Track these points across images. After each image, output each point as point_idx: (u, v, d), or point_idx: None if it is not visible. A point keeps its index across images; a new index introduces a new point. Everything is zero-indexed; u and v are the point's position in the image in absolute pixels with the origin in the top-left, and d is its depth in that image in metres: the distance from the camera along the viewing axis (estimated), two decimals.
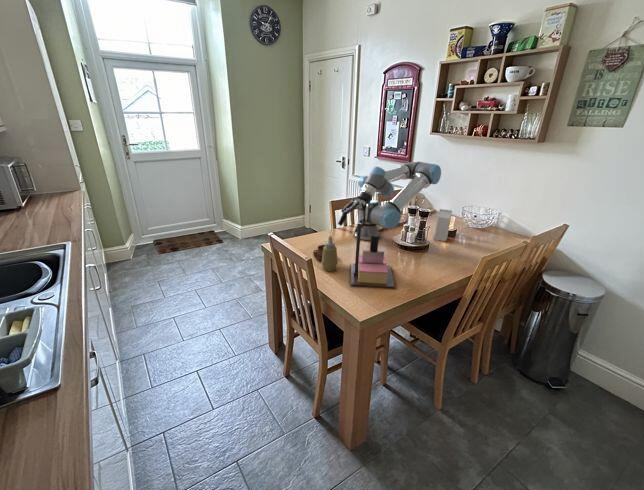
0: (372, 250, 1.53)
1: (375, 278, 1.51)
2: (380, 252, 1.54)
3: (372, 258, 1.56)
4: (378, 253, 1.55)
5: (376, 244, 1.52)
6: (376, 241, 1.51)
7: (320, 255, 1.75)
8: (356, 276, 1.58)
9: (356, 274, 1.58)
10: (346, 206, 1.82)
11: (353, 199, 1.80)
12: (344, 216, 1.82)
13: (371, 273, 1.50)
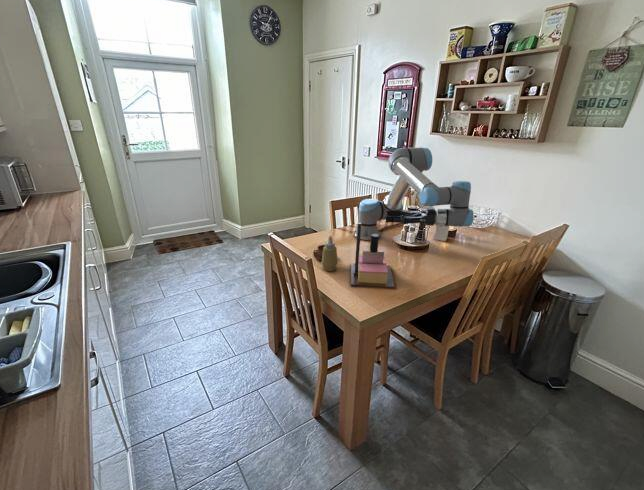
0: (372, 250, 1.53)
1: (375, 278, 1.51)
2: (380, 252, 1.54)
3: (372, 258, 1.56)
4: (378, 253, 1.55)
5: (376, 244, 1.52)
6: (376, 241, 1.51)
7: (320, 255, 1.75)
8: (356, 276, 1.58)
9: (356, 274, 1.58)
10: None
11: None
12: None
13: (371, 273, 1.50)
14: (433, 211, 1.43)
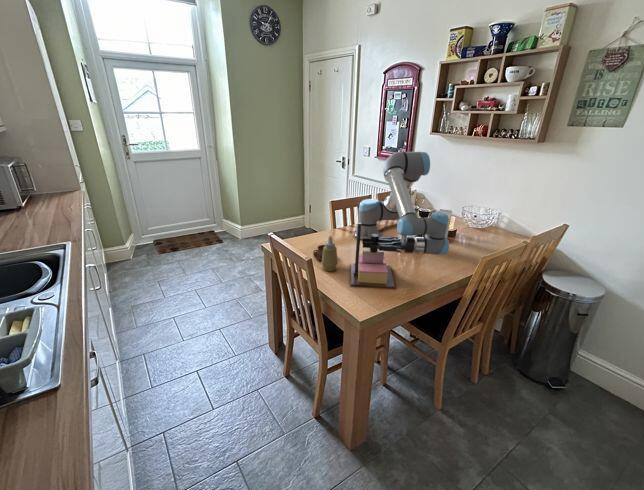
0: (372, 250, 1.53)
1: (375, 278, 1.51)
2: (380, 252, 1.54)
3: (372, 258, 1.56)
4: (378, 253, 1.55)
5: None
6: (376, 241, 1.51)
7: (320, 255, 1.75)
8: (356, 276, 1.58)
9: (356, 274, 1.58)
10: (387, 250, 1.49)
11: None
12: None
13: (371, 273, 1.50)
14: (412, 240, 1.49)
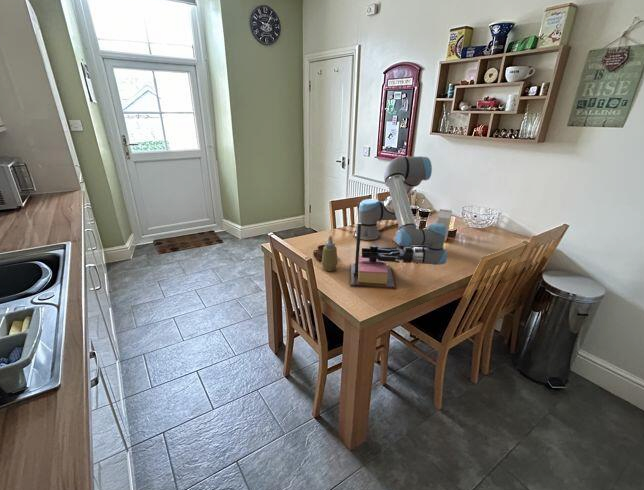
0: (371, 260, 1.55)
1: (375, 278, 1.51)
2: (379, 261, 1.56)
3: None
4: (377, 263, 1.57)
5: None
6: (375, 251, 1.53)
7: (320, 255, 1.75)
8: (356, 276, 1.58)
9: (356, 274, 1.58)
10: (386, 260, 1.51)
11: (398, 261, 1.50)
12: None
13: (371, 273, 1.50)
14: (411, 251, 1.51)
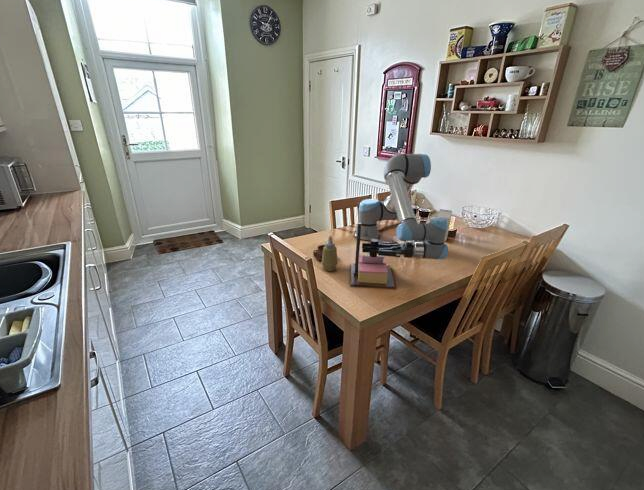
0: (372, 255, 1.54)
1: (375, 278, 1.51)
2: (380, 256, 1.55)
3: (372, 263, 1.57)
4: (378, 258, 1.56)
5: None
6: (376, 246, 1.52)
7: (320, 255, 1.75)
8: (356, 276, 1.58)
9: (356, 274, 1.58)
10: None
11: (399, 256, 1.49)
12: None
13: (371, 273, 1.50)
14: (411, 245, 1.50)
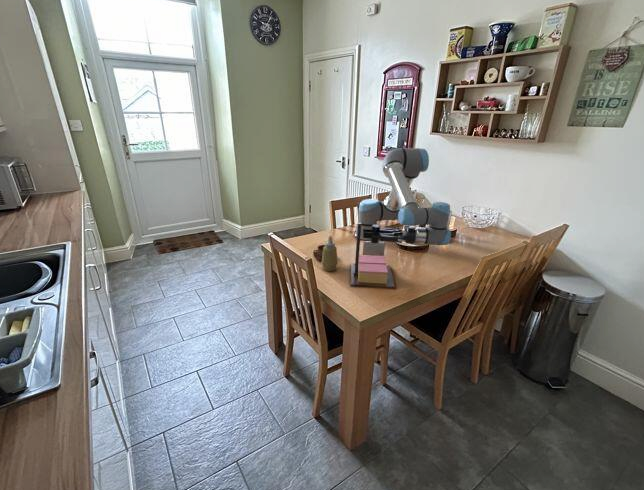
0: (373, 241, 1.51)
1: (375, 278, 1.51)
2: (381, 242, 1.52)
3: (373, 249, 1.54)
4: (379, 244, 1.53)
5: None
6: (377, 232, 1.49)
7: (320, 255, 1.75)
8: (356, 276, 1.58)
9: (356, 274, 1.58)
10: None
11: None
12: None
13: (371, 273, 1.50)
14: (414, 231, 1.47)
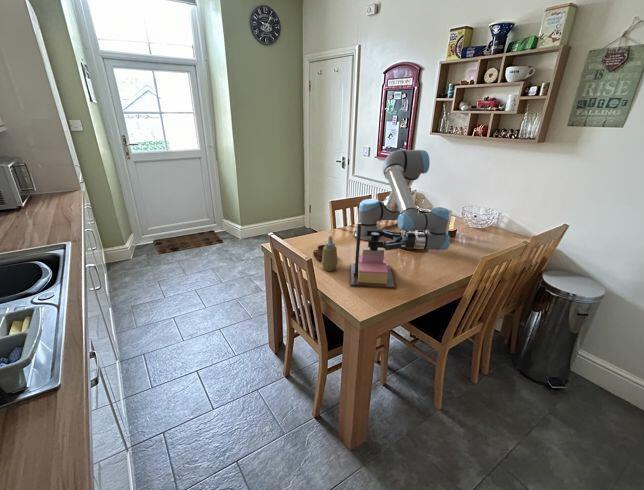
0: (372, 248, 1.52)
1: (375, 278, 1.51)
2: (380, 250, 1.54)
3: (372, 256, 1.56)
4: (378, 251, 1.54)
5: None
6: (376, 239, 1.51)
7: (320, 255, 1.75)
8: (356, 276, 1.58)
9: (356, 274, 1.58)
10: (392, 248, 1.45)
11: None
12: None
13: (371, 273, 1.50)
14: (413, 236, 1.48)
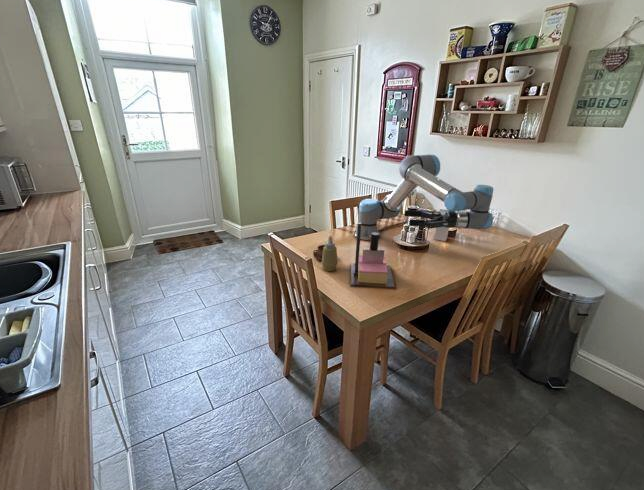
0: (372, 248, 1.52)
1: (375, 278, 1.51)
2: (380, 250, 1.54)
3: (372, 256, 1.56)
4: (378, 251, 1.54)
5: (376, 242, 1.51)
6: (376, 239, 1.51)
7: (320, 255, 1.75)
8: (356, 276, 1.58)
9: (356, 274, 1.58)
10: None
11: None
12: None
13: (371, 273, 1.50)
14: (455, 214, 1.44)
